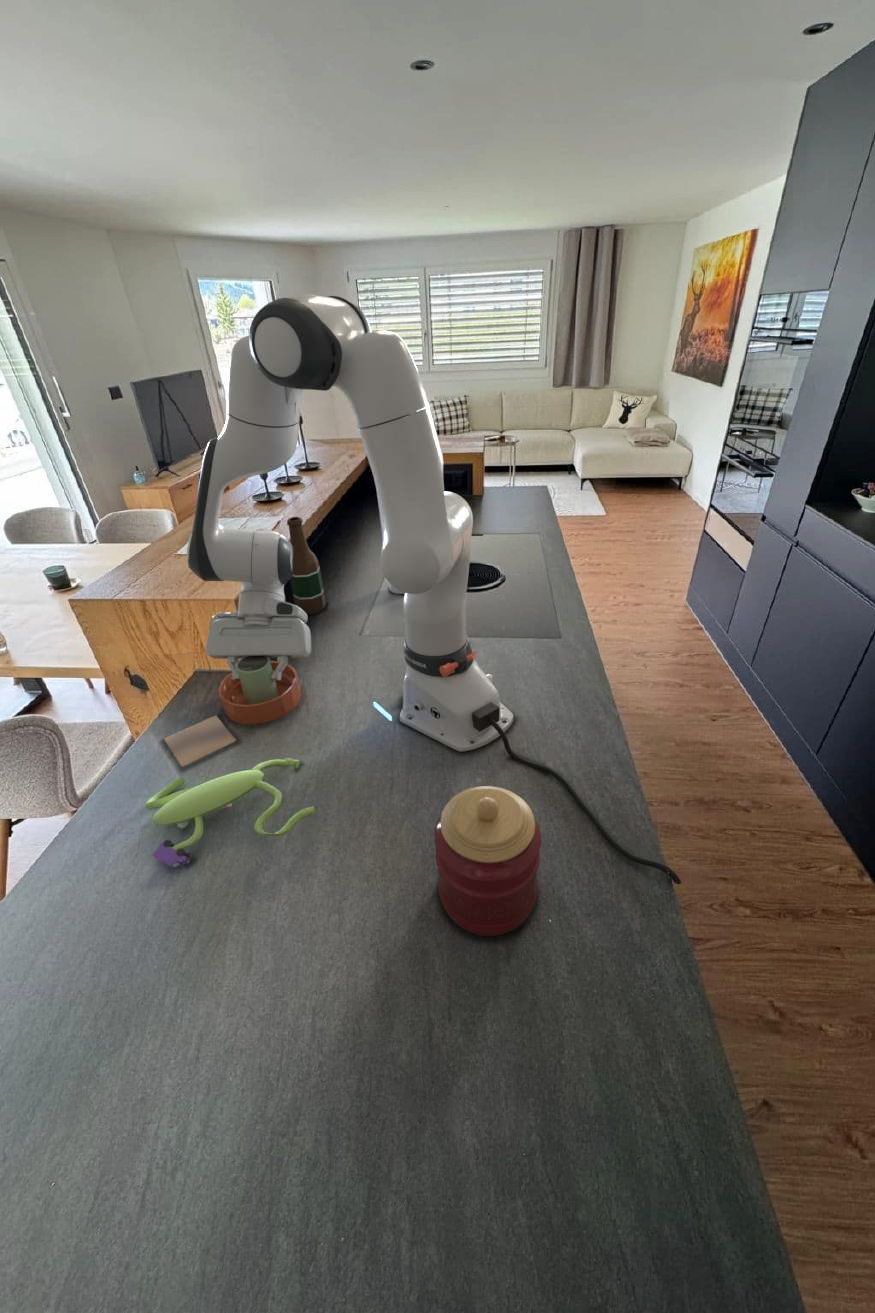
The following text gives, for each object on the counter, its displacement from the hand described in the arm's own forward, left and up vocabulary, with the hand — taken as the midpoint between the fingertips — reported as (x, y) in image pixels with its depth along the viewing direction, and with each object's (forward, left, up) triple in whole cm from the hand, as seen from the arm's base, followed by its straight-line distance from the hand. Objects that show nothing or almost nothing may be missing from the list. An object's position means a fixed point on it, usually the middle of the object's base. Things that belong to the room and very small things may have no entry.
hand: (256, 680), depth 108 cm
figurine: (-24, +16, -6) cm, 29 cm away
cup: (0, 0, -5) cm, 5 cm away
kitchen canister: (-60, -4, -6) cm, 60 cm away
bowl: (0, 0, -6) cm, 6 cm away
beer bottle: (+29, -27, -6) cm, 41 cm away
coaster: (-3, +14, -6) cm, 15 cm away
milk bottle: (+21, -51, -6) cm, 56 cm away
